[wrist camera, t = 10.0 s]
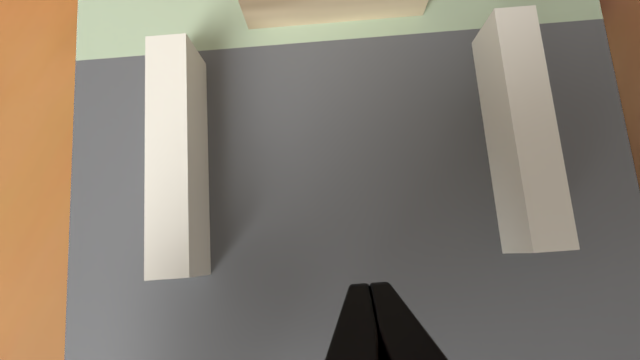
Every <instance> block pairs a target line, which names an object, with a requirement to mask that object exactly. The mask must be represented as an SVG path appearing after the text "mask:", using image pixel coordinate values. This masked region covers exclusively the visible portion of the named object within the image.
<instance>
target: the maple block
mask: <svg viewBox="0 0 640 360" xmlns="http://www.w3.org/2000/svg"><path fill="white" fill-rule="evenodd" d="M428 1H429V0H238V2H239V4H240V7H241V10H242V13H243V15H244V18H245V21H246V24H247V26H248V29H259V28H272V27H284V26H297V25H309V24H322V23H334V22H347V21H359V20H371V19H384V18H396V17H409V16H421V15H423V14H424V11H425V9H426V6H427V3H428Z"/></svg>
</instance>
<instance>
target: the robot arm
mask: <svg viewBox="0 0 640 360" xmlns="http://www.w3.org/2000/svg"><path fill="white" fill-rule="evenodd" d="M325 360H448V359H447V357H446V356H445V355H444V353H443V352H442V351H441V349H440V348H439V347H438V345H437V344H436V343H435V342H434V340H433V339H432V338H431V336H430V335H429V334H428V332H427V331H426V330H425V329H424V327H423V326H422V325H421V323H420V322H419V321H418V319H417V318H416V317H415V315H414V314H413V313H412V312H411V310H410V309H409V308H408V306H407V305H406V304H405V302H404V301H403V300H402V298H401V297H400V296H399V295H398V293H397V292H396V291H395V289H394V288H393V287H392V285H391V284H390V283H388V282H373V283H371V284H370V285H368V284H367V283H359V284H351V285H350V286H349V287H348V290H347V293H346V297H345V300H344V303H343V306H342V309H341V312H340V315H339V318H338V321H337V324H336V327H335V330H334V333H333V336H332V340H331V343H330V346H329V349H328V352H327V355H326V358H325Z"/></svg>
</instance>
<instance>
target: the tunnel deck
mask: <svg viewBox="0 0 640 360" xmlns="http://www.w3.org/2000/svg"><path fill="white" fill-rule="evenodd" d="M373 282H388V283H390V284H391V285H392V287H393V288H394V289H395V291H396V292H397V293H398V295H399V296H400V297H401V298H402V300H403V301H404V302H405V304H406V305H407V306H408V308H409V309H410V310H411V312H412V313H413V314H414V315H415V317H416V318H417V319H418V321H419V322H420V323H421V325H422V326H423V327H424V329H425V330H426V331H427V332H428V334H429V335H430V336H431V338H432V339H433V340H434V342H435V343H436V344H437V345H438V347H439V348H440V349H441V351H442V352H443V353H444V355H445V356H446V357H447V359H448V360H640V190H639V185H638V181H637V176H636V171H635V167H634V162H633V157H632V152H631V148H630V143H629V138H628V134H627V129H626V124H625V119H624V115H623V110H622V105H621V101H620V96H619V91H618V86H617V82H616V77H615V72H614V67H613V63H612V58H611V53H610V49H609V44H608V39H607V34H606V30H605V25H604V20H603V16H602V11H601V6H600V1H599V0H429V1H428V3H427V6H426V9H425V11H424V14H423V15H421V16H409V17H396V18H384V19H371V20H359V21H347V22H334V23H322V24H309V25H297V26H284V27H272V28H259V29H248V26H247V24H246V21H245V18H244V15H243V13H242V10H241V7H240V4H239V2H238V0H78V16H77V42H76V69H75V95H74V122H73V148H72V174H71V201H70V227H69V254H68V280H67V307H66V333H65V360H325V358H326V355H327V352H328V349H329V346H330V343H331V340H332V336H333V333H334V330H335V327H336V324H337V321H338V318H339V315H340V312H341V309H342V306H343V303H344V300H345V297H346V293H347V290H348V287H349V286H350V285H351V284H359V283H367V284H368V285H370V284H371V283H373Z"/></svg>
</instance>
